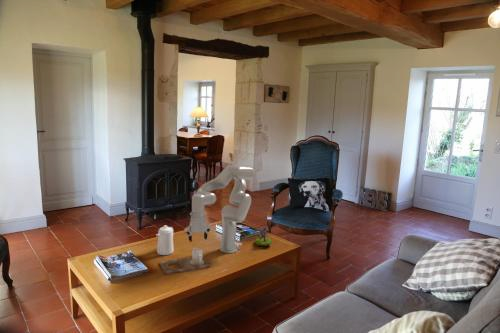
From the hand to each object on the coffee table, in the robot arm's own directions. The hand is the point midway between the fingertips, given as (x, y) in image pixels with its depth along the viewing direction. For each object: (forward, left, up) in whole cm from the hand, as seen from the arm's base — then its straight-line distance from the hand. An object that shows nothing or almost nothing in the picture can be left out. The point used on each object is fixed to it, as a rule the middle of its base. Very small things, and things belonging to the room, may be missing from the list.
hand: (198, 239), depth 225 cm
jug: (0, +1, -14) cm, 14 cm away
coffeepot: (+15, -23, -16) cm, 32 cm away
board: (+8, 0, -16) cm, 18 cm away
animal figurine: (-54, -12, -16) cm, 57 cm away
